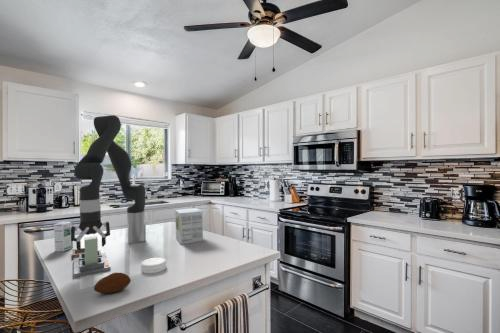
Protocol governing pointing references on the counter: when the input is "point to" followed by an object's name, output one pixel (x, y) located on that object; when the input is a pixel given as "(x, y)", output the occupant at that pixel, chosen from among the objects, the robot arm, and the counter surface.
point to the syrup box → (63, 236)
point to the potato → (112, 283)
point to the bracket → (77, 252)
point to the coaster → (153, 265)
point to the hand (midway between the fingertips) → (91, 248)
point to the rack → (90, 265)
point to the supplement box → (189, 225)
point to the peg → (91, 250)
